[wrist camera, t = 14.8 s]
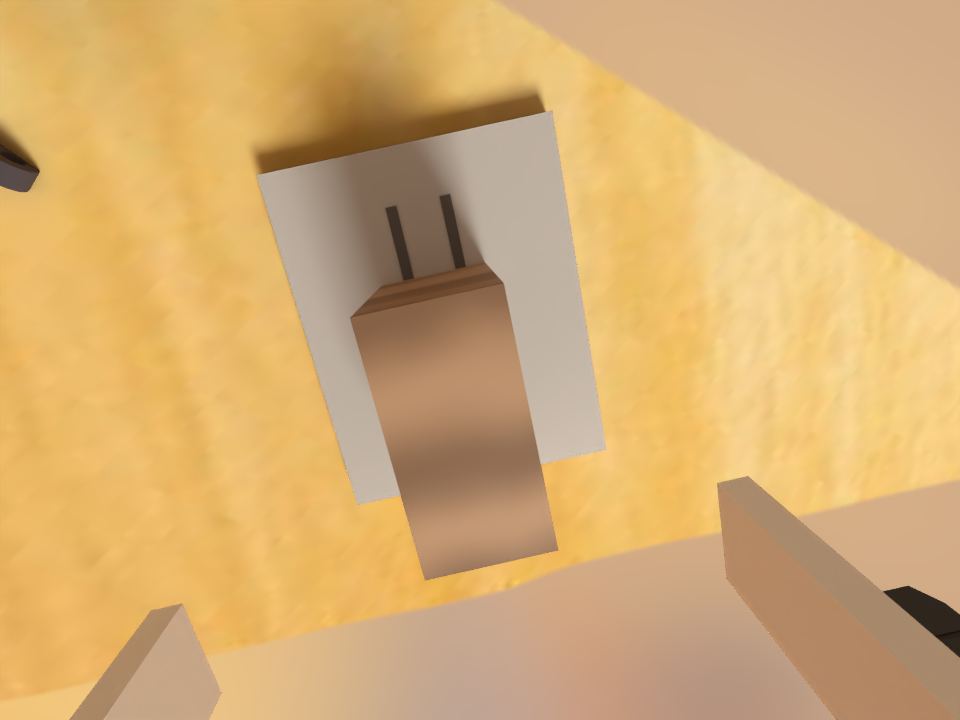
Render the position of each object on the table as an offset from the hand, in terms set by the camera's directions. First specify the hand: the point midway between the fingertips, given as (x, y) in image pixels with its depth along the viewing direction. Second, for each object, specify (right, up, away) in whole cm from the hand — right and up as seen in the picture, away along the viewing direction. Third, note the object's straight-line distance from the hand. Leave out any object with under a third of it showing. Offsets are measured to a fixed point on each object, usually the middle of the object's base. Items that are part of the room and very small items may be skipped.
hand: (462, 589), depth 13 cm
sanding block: (-1, +5, +19) cm, 19 cm away
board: (-2, +8, +19) cm, 21 cm away
